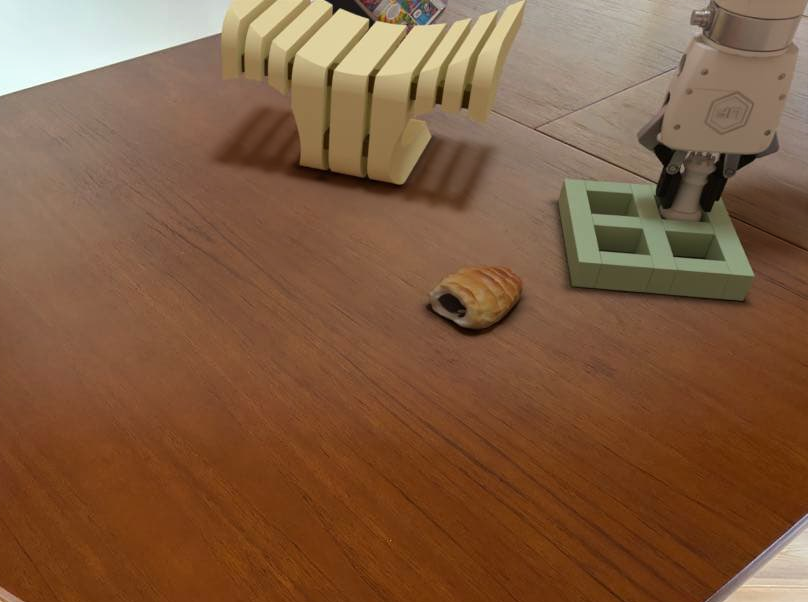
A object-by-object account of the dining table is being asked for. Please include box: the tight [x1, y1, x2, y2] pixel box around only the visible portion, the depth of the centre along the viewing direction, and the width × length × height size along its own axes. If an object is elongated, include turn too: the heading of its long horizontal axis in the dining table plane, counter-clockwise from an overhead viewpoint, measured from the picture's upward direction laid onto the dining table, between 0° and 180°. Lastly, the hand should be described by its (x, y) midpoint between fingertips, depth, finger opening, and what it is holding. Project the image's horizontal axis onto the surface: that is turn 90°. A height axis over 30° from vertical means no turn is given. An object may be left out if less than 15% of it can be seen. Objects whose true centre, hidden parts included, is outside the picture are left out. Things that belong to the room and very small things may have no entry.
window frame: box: [557, 178, 755, 302], centre depth 90 cm, size 16×16×3 cm
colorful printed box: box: [311, 0, 449, 53], centre depth 121 cm, size 20×22×18 cm
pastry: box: [428, 265, 524, 330], centre depth 83 cm, size 9×7×4 cm
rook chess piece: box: [659, 151, 717, 222], centre depth 90 cm, size 4×4×8 cm
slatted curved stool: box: [220, 0, 527, 186], centre depth 100 cm, size 30×16×18 cm, turn 67°
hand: (684, 202), depth 91 cm, fingers closed on rook chess piece, 3 cm apart
